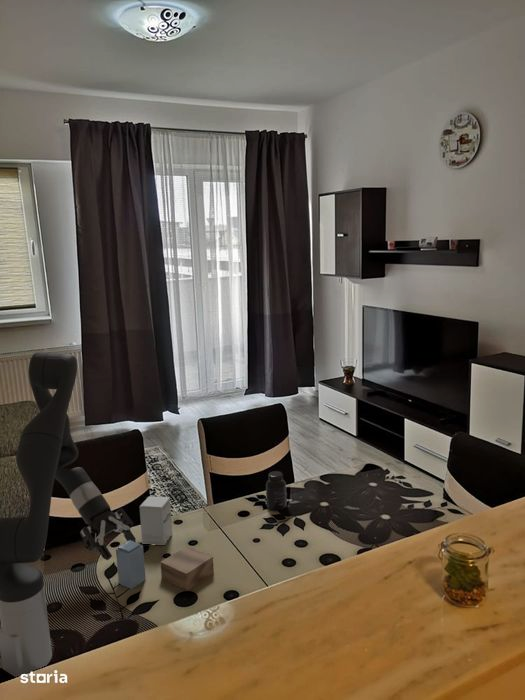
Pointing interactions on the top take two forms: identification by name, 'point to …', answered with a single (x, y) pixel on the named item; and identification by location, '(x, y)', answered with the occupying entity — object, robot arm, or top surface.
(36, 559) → the robot arm
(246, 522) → the top surface
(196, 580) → the walnut box
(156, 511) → the supplement box
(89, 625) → the top surface
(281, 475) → the supplement bottle
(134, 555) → the pale blue upright prism
